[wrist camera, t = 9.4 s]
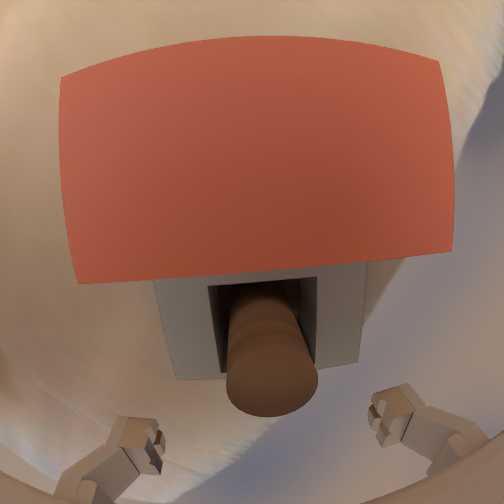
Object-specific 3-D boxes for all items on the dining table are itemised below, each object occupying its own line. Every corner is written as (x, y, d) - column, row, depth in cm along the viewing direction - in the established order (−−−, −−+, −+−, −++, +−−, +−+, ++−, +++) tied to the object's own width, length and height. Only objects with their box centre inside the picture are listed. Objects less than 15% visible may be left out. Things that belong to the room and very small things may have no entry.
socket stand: (187, 341, 22) (154, 467, 10) (159, 130, 18) (61, 77, 6) (336, 327, 22) (402, 438, 10) (332, 118, 18) (438, 61, 6)
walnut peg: (227, 274, 20) (220, 355, 11) (283, 269, 21) (320, 345, 11) (233, 323, 21) (232, 420, 12) (285, 318, 22) (315, 411, 12)
